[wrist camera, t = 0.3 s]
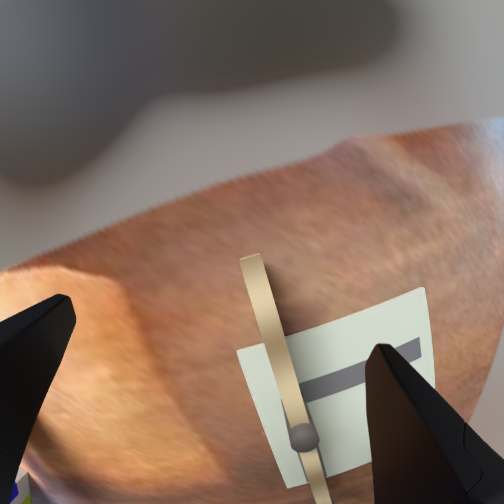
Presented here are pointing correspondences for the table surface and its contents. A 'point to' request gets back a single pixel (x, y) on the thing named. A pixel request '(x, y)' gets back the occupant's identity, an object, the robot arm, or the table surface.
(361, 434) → the board
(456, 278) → the table surface
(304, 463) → the fixed fence panel
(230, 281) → the table surface
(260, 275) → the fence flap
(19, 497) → the puzzle toy
